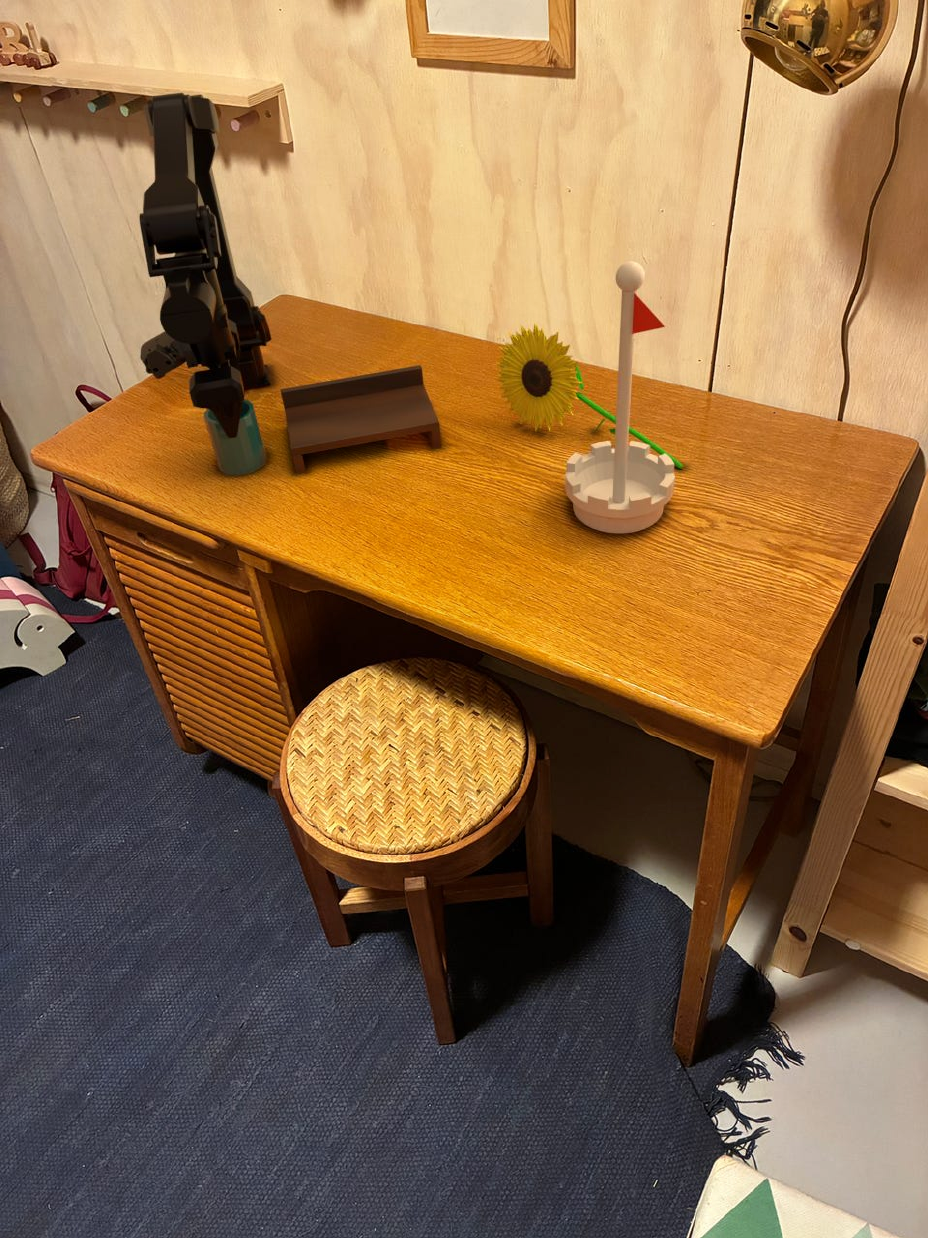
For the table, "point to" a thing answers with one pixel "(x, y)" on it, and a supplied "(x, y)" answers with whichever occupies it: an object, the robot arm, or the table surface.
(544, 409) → the decorative plant
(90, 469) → the table surface
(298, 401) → the desk shelf
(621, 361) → the flag stand
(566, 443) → the table surface
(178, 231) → the robot arm
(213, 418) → the glazed pot
